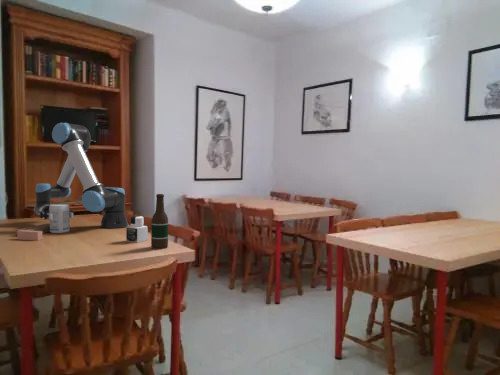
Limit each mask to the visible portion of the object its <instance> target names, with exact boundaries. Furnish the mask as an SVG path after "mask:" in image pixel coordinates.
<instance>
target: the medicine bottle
mask: <svg viewBox="0 0 500 375" xmlns="http://www.w3.org/2000/svg"><path fill="white" fill-rule="evenodd" d="M144 222H145V221H144V216H142V215H133V216H131V217H130V225H128V226H127V227H125V228H126V232H125V233H126V234H125V235H126V240H125V241H126V242H128V243H129V242H130V243H134V242H135V243H137V244H138V243H143V242H146V241H148V235H149V234H148V232H149V231H148V226H147V225H145V223H144Z"/></svg>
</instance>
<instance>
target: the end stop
mask: <svg viewBox="0 0 500 375" xmlns="http://www.w3.org/2000/svg"><path fill="white" fill-rule="evenodd" d="M16 237H17V240H24V241H41V240H43V233H42V231H31V230H20V231H17V236H16Z"/></svg>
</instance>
